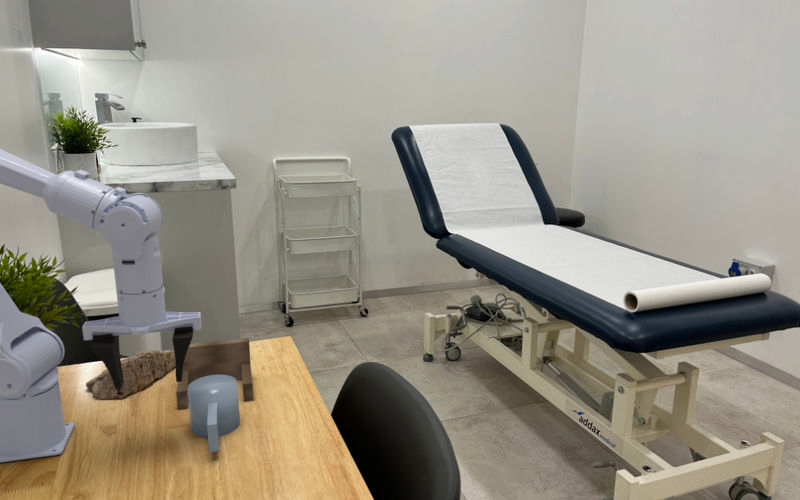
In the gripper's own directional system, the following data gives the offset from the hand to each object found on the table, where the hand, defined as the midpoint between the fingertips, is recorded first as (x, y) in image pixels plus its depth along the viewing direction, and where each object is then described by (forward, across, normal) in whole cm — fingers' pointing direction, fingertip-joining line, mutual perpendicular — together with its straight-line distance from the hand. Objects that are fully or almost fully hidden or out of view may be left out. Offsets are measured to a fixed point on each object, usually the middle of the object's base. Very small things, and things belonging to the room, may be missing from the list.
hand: (149, 382), depth 82 cm
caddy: (+9, +8, +14) cm, 18 cm away
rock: (+10, -6, +22) cm, 25 cm away
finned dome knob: (+10, +8, 0) cm, 12 cm away
